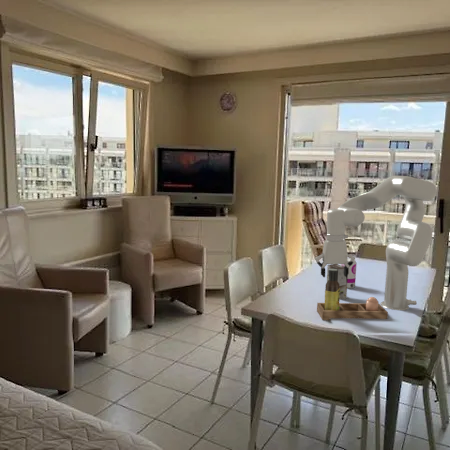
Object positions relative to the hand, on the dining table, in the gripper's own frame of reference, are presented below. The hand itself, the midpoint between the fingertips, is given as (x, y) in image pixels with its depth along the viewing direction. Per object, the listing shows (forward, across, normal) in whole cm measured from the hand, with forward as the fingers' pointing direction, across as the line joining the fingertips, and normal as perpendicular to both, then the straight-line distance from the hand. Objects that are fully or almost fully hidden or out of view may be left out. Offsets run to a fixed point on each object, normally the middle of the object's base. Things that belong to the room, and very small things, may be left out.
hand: (334, 276), depth 189 cm
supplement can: (+19, -19, -44) cm, 52 cm away
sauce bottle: (+17, +1, 0) cm, 17 cm away
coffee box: (+19, -8, -26) cm, 33 cm away
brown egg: (+18, -17, 0) cm, 24 cm away
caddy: (+18, -8, 0) cm, 20 cm away
